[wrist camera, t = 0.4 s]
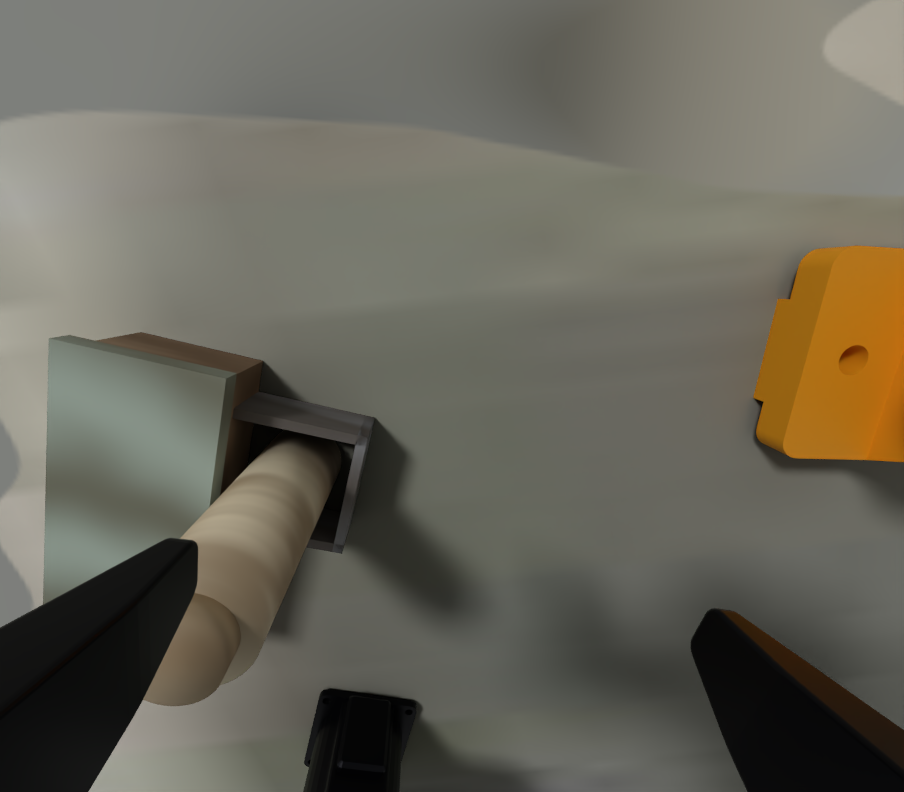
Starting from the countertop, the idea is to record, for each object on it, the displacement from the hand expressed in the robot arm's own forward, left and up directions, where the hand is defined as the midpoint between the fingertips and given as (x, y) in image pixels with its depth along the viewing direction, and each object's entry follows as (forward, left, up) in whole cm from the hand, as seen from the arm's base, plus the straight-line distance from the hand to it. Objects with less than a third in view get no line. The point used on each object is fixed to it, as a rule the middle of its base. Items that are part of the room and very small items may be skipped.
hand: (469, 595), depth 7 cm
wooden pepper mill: (-6, +6, -16) cm, 18 cm away
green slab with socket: (-8, +9, -16) cm, 20 cm away
